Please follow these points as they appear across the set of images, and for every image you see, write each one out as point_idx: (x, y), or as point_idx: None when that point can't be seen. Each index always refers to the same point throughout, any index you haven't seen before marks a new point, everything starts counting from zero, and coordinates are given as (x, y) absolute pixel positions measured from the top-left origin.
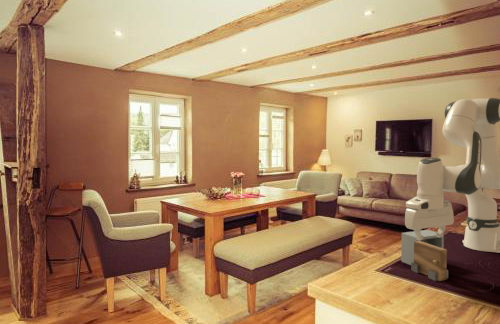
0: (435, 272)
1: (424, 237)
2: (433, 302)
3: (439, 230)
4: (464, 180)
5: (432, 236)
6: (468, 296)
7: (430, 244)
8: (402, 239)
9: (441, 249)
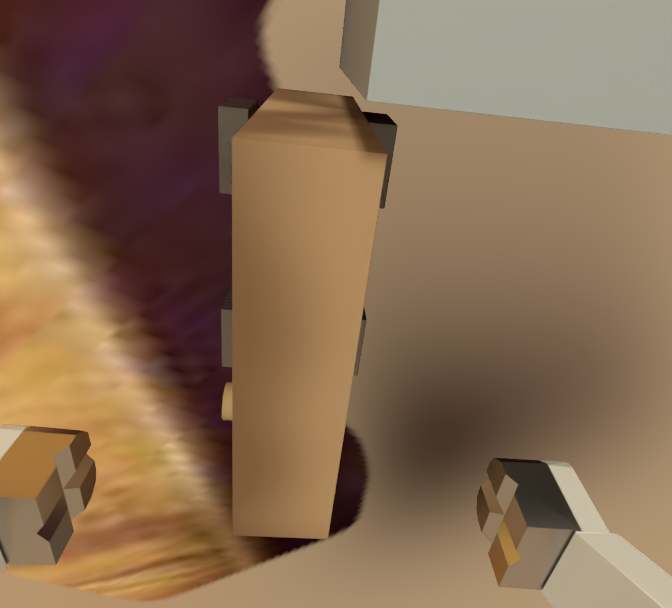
0: (228, 364)
1: (587, 122)
2: None
3: (600, 584)
4: None
5: None
6: None
7: (351, 361)
8: None
9: (282, 519)
